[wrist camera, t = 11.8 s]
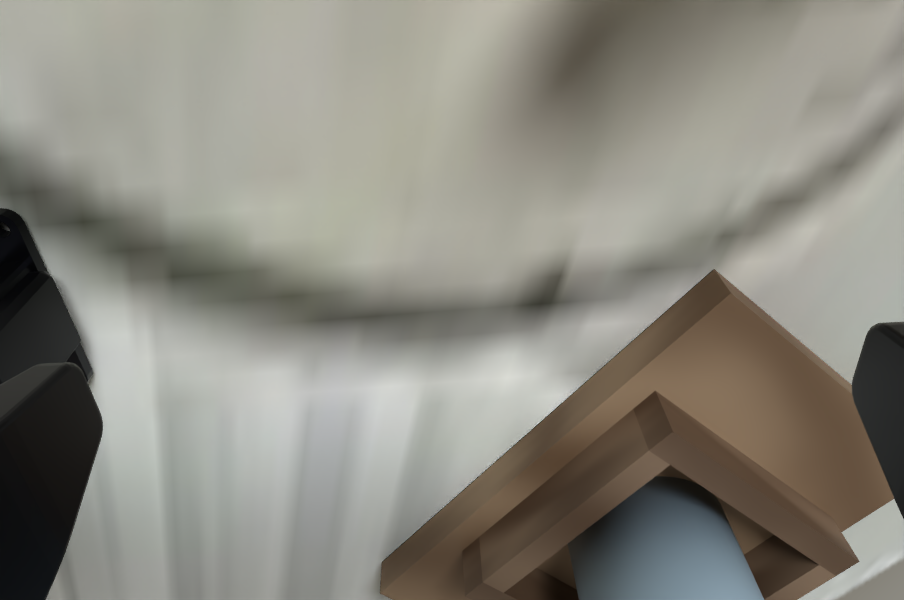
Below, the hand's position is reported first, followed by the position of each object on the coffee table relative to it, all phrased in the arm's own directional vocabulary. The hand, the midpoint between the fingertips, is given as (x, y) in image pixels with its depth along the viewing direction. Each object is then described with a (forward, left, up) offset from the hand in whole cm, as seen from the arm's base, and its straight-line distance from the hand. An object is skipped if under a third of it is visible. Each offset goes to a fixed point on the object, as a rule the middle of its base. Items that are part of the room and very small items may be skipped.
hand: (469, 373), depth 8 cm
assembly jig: (+6, -18, -13) cm, 23 cm away
